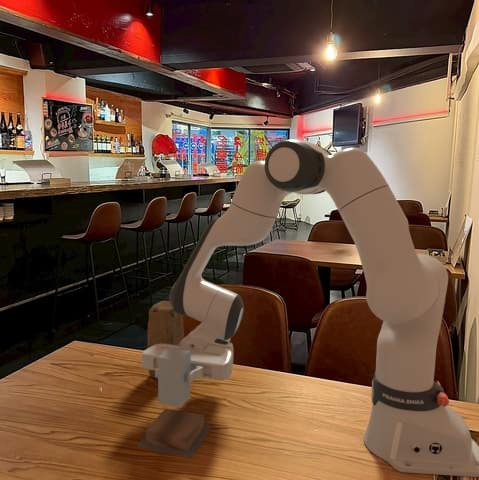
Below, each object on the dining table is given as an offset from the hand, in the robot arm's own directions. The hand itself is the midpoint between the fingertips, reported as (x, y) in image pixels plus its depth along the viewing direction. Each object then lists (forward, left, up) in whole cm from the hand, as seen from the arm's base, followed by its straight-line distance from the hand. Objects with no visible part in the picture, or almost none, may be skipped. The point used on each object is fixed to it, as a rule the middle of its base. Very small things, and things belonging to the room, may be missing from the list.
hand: (172, 376), depth 96 cm
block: (+15, -29, -14) cm, 35 cm away
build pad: (0, -1, -14) cm, 14 cm away
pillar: (0, -1, -5) cm, 6 cm away
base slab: (0, -1, -13) cm, 13 cm away
